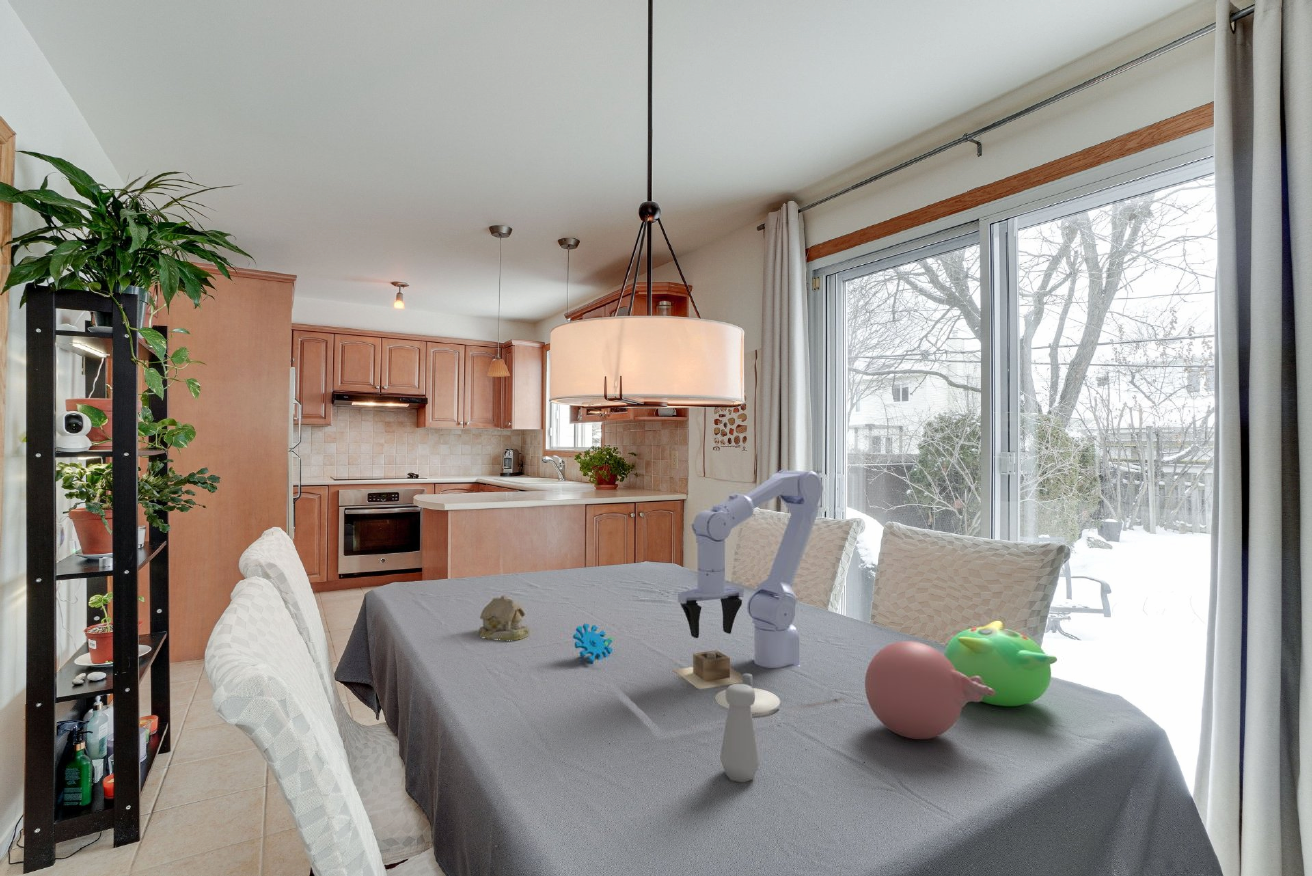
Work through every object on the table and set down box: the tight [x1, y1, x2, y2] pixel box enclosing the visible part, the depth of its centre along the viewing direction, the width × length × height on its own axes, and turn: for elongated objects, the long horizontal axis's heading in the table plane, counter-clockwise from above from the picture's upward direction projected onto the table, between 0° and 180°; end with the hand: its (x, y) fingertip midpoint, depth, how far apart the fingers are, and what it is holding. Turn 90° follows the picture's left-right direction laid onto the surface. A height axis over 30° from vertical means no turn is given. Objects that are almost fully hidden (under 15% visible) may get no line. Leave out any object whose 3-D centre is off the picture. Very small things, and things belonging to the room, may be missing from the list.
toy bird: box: [944, 620, 1058, 707], centre depth 123 cm, size 18×17×15 cm
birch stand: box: [672, 652, 743, 690], centre depth 135 cm, size 12×12×6 cm
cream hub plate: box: [714, 673, 781, 719], centre depth 122 cm, size 12×12×6 cm
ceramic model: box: [477, 595, 530, 642], centre depth 167 cm, size 14×11×10 cm
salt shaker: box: [719, 683, 761, 783], centre depth 96 cm, size 6×6×13 cm
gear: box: [572, 623, 615, 664], centre depth 148 cm, size 11×6×10 cm
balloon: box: [864, 640, 995, 740], centre depth 108 cm, size 15×20×15 cm
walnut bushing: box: [692, 650, 731, 681], centre depth 135 cm, size 6×6×4 cm
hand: (711, 634), depth 135 cm, fingers open, 7 cm apart
